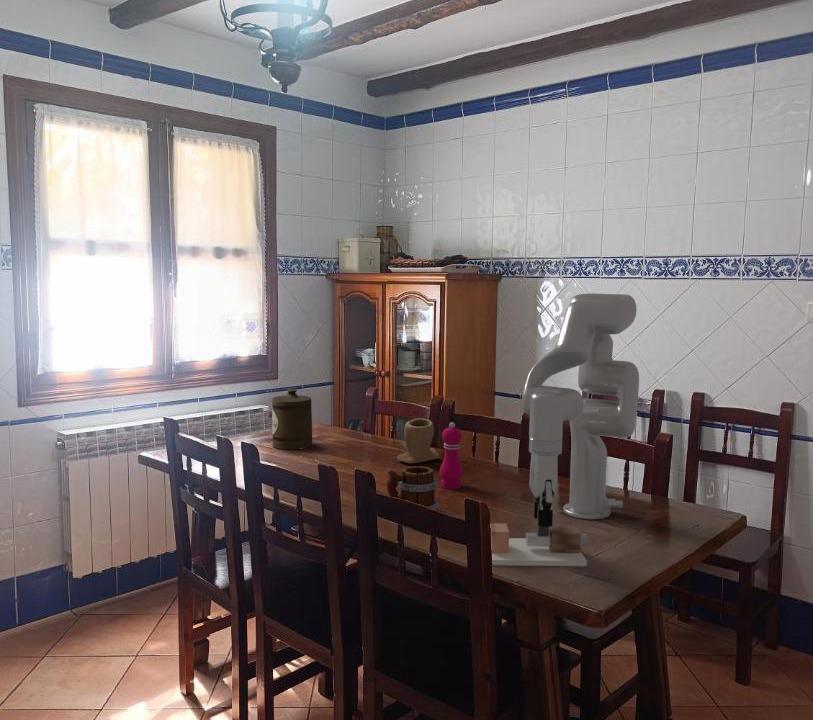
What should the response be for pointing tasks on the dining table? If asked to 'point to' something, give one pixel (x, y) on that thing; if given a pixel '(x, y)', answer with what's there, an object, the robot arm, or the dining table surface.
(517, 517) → the dining table surface
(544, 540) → the grey piece
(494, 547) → the terracotta socket
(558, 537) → the walnut sleeve
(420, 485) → the mug
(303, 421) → the wooden container
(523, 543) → the cream board
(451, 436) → the pepper mill
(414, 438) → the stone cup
